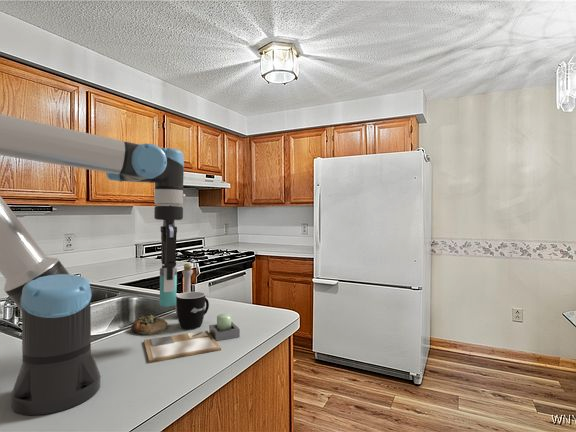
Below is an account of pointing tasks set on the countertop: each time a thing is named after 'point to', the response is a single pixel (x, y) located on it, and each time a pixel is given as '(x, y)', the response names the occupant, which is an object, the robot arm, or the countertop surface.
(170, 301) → the teal cylinder
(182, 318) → the mug
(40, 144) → the robot arm
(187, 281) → the potion bottle
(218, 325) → the button
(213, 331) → the button housing
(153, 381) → the countertop surface
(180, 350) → the tan flat tray
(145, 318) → the bread roll
